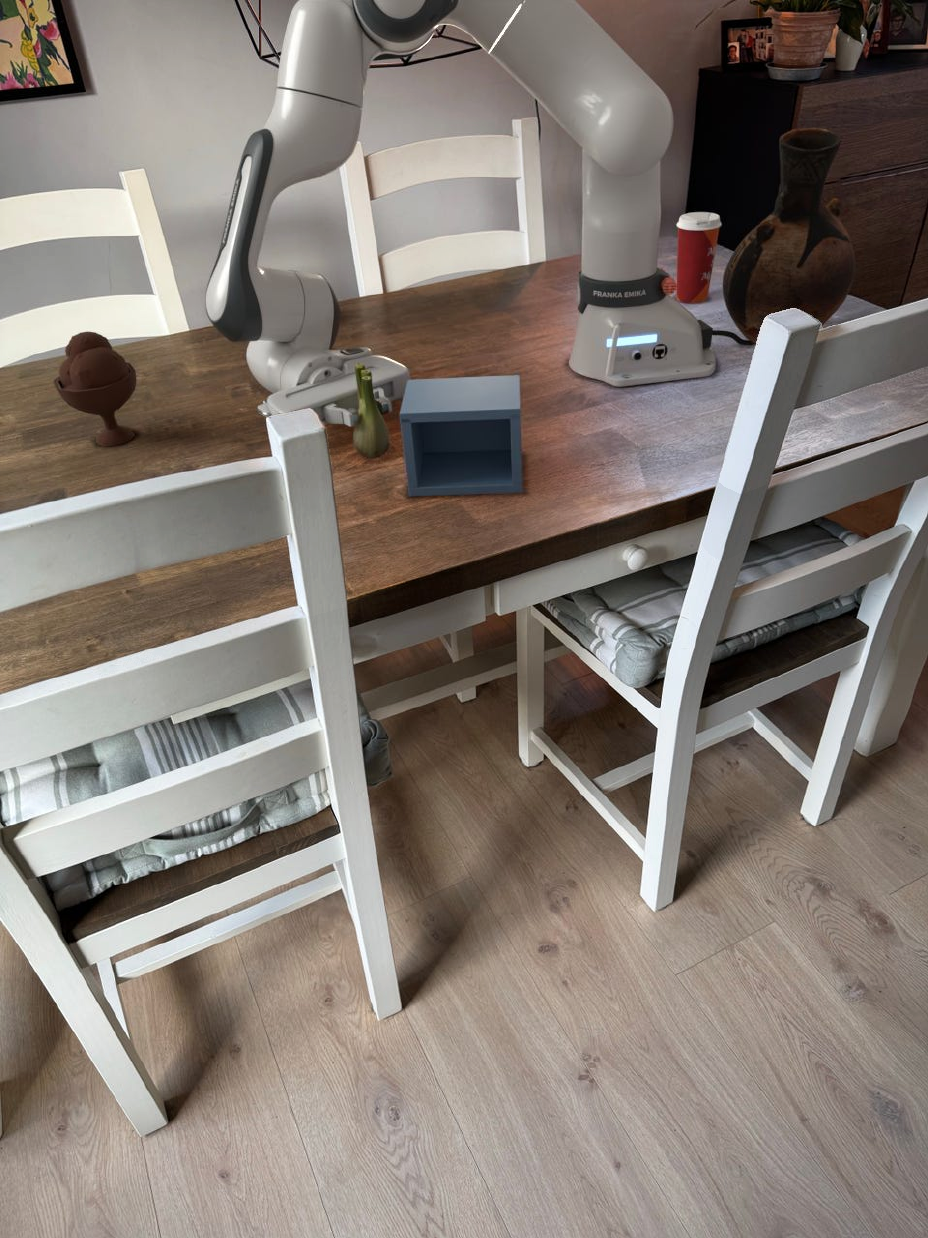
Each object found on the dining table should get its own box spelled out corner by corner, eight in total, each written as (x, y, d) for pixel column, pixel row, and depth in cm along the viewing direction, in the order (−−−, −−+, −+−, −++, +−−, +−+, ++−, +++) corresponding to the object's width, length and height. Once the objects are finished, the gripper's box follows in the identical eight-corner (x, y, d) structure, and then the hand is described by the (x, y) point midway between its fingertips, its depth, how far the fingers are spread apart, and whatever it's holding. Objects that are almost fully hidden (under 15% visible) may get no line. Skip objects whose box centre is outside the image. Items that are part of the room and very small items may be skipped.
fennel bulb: (385, 464, 113) (374, 377, 105) (350, 463, 114) (335, 377, 106) (395, 443, 117) (384, 359, 110) (361, 443, 118) (348, 359, 111)
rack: (521, 455, 113) (519, 374, 106) (522, 493, 105) (520, 408, 98) (416, 458, 114) (407, 379, 107) (409, 496, 106) (399, 413, 99)
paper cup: (717, 303, 154) (727, 220, 146) (674, 306, 155) (681, 223, 146) (708, 290, 160) (717, 209, 152) (666, 292, 161) (673, 212, 152)
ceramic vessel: (790, 312, 148) (824, 114, 130) (868, 342, 136) (918, 127, 117) (691, 337, 142) (712, 132, 123) (763, 371, 129) (799, 148, 111)
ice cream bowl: (62, 442, 124) (23, 340, 115) (131, 415, 131) (99, 316, 121) (98, 462, 118) (60, 357, 109) (168, 433, 125) (137, 331, 115)
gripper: (246, 384, 114) (297, 415, 105) (375, 343, 123) (431, 368, 114) (256, 428, 117) (306, 462, 108) (380, 385, 127) (435, 412, 118)
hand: (371, 413), depth 111 cm, fingers closed on fennel bulb, 4 cm apart
